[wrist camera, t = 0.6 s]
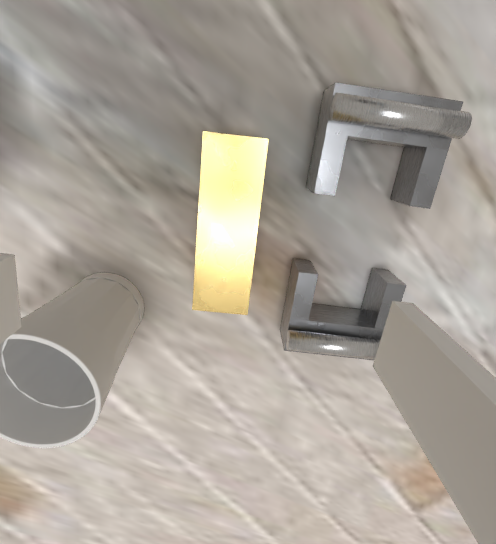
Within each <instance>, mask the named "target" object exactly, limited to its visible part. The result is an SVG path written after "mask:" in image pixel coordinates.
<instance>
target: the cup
mask: <svg viewBox="0 0 496 544" xmlns="http://www.w3.org/2000/svg"><path fill="white" fill-rule="evenodd" d="M143 314H144V302H143V299H142V296H141V294H140V292H139V291H138V289H137V288H136V287H135V286H134V285H133V284H132V283H131V282H130V281H129V280H127V279H126V278H124V277H122V276H120V275H117V274H113V273H106V272H102V273H95V274H92V275H90V276H88V277H86V278H84V279H83V280H82V281H81V282H79V283H78V284H77V285H76V286H74V287H73V288H71V289H69V290H68V291H66V292H64V293H63V294H61V295H60V296H58V297H56V298H55V299H53V300H51V301H50V302H48V303H47V304H45V305H43V306H42V307H40V308H38V309H37V310H35V311H34V312H32V313H30V314H29V315H27V316H25V317H23V318H21V326H22V327H21V328H20V329H18V330H17V331H16V332H15V333H13V334H12V335H11V336H9V337H8V338H7V339H6V340H4V341H3V342H2V343H1V344H0V438H3V439H5V440H7V441H9V442H12V443H15V444H18V445H22V446H27V447H33V448H54V447H60V446H64V445H68V444H70V443H73V442H75V441H77V440H79V439H80V438H82V437H83V436H85V435H86V434H87V433H88V432H89V431H90V430H91V429H92V428H93V426H94V425H95V423H96V421H97V419H98V417H99V415H100V412H101V410H102V407H103V405H104V403H105V400H106V398H107V395H108V393H109V391H110V388H111V386H112V384H113V381H114V378H115V375H116V373H117V370H118V368H119V366H120V364H121V361H122V359H123V357H124V355H125V352H126V350H127V348H128V346H129V343H130V341H131V339H132V337H133V334H134V332H135V330H136V328H137V327H138V325H139V324H140V322H141V320H142V318H143Z"/></svg>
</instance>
